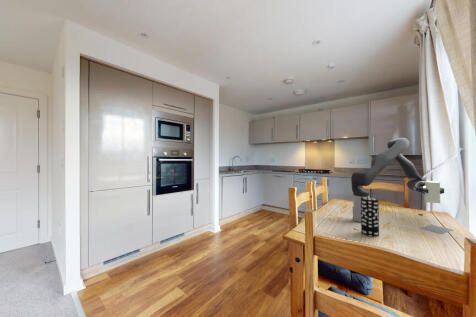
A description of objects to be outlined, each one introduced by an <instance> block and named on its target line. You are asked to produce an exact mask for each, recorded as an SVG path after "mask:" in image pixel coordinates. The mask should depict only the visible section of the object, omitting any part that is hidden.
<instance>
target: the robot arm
mask: <svg viewBox="0 0 476 317" xmlns="http://www.w3.org/2000/svg"><path fill="white" fill-rule="evenodd" d="M386 145H387V148H388V149H386V150H383V151H382V152H380V153H378V154H377V155H375V156H374V158H372V159H371V163H370V165H371V166H370V168H369V169H368V170H367V171H365V172H363V171H354V172H353V173H352V175H351V178H350V180H351V183H350V184H351V190H352V193H353V194H352V200H353V201H352V203H353V204H352V205H353V206H352V221H355V222H358V223H361V197H370V191H369V190H366V188H364V187H369V186H370V185H371V184H372V183H373V182H374V181H375V179H377V177H378V176H379V175H380V173H381V172H383V170H385V169H386V168H387V167H388V166H389V165H390V164H391V163H392V162H393V161H394V160H396V161H397V162H398V164H399V166H400V168H401V169H402V171H403V172H404V175H405V177H406V178H409V179H410V178H411V179H410V180H409V181H407V182H406V186H407V188H408V189H409V190H410V191H415V192H419V193H421V194H424V195H425V193H428V189H426V188H425V181H426V180H425V179H424V178H423V177H422V176H421V175H420V174H419V172H418V170H417V168H416V167H415V164H414V163H413V162H412V161H410V159H408V158H406V157H405V156H404V155H403V154H402V153H403V152H405V151H407V149H408V148H409V146H410V141H409V140H408V139H407V138H405V137H398V138H395V139H390V140H388V142H387V143H386ZM412 178H415V179H412ZM442 194H445V187H440V195H442Z"/></svg>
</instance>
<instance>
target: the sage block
mask: <svg viewBox="0 0 476 317" xmlns="http://www.w3.org/2000/svg"><path fill="white" fill-rule="evenodd" d="M425 188H426V189H428V193H425V194H424V197H425V198H424V199H425V201H426V202H427V203H430V204H441V194H440V188H441V182H439V181H436V180H434V181H433V180H425Z"/></svg>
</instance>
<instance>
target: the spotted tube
mask: <svg viewBox="0 0 476 317" xmlns="http://www.w3.org/2000/svg"><path fill="white" fill-rule="evenodd" d="M379 202H380V201H379V198H376V197H370V196H369V197H361V222H360V227H361V228H360V229H361V230H360V233H361V234H362V235H364V236H368V237H372V238H373V237H375V238H376V237H379V236H380V216H379V215H380V209H379V208H380V207H379V204H380V203H379Z"/></svg>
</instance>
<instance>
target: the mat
mask: <svg viewBox="0 0 476 317" xmlns="http://www.w3.org/2000/svg"><path fill="white" fill-rule="evenodd" d="M419 229H421V230H424V231H428V232H431V233H436V234H439V235H443V234H446V233H450V232H452V231H454V229H451V228H447V227H443V226H439V225H435V224H430V225H428V224H427V225H426V226H421V227H419Z"/></svg>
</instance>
